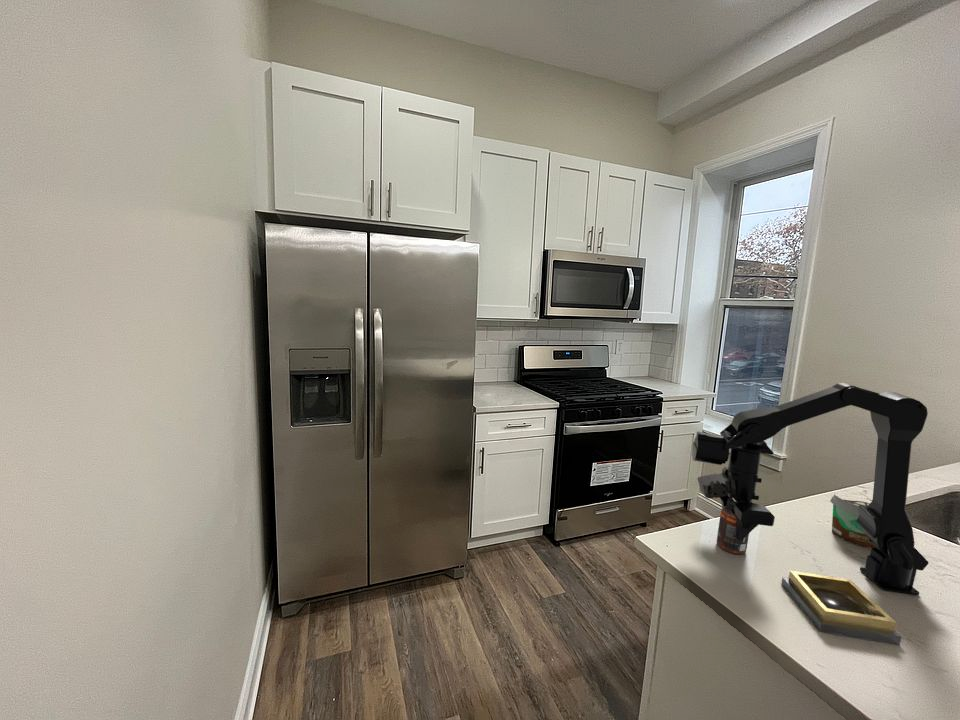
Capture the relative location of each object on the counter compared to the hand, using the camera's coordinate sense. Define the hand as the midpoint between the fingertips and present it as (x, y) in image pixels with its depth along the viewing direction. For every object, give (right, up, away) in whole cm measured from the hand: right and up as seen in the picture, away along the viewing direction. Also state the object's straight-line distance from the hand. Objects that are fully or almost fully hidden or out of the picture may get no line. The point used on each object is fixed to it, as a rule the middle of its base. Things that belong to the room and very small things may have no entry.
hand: (733, 531), depth 92 cm
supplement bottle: (0, -4, +1) cm, 4 cm away
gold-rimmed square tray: (+7, -7, -18) cm, 21 cm away
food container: (+34, -5, +5) cm, 35 cm away
